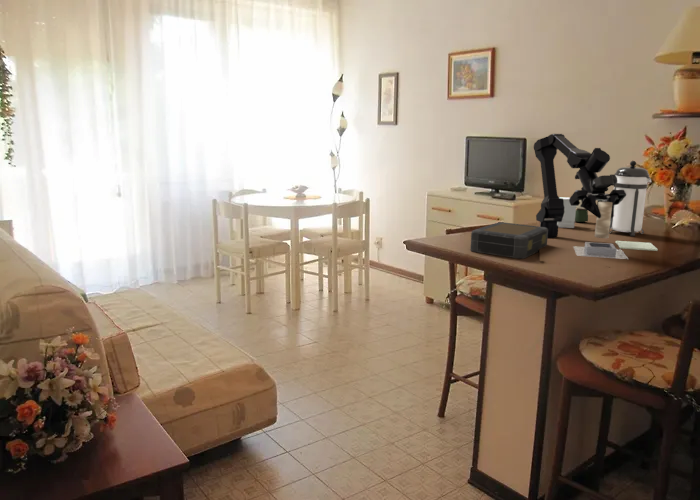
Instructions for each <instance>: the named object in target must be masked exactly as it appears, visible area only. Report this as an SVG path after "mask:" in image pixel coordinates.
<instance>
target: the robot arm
mask: <svg viewBox="0 0 700 500" xmlns="http://www.w3.org/2000/svg"><path fill="white" fill-rule="evenodd" d="M533 151H534V155H535V157H536V159H537V160H538V161H539V163H540V171H541V179H542V188H543V199H542V201H541V203H540V209H539V210H538V212H537V213H536V215H535V218H536V221H537V222H540V223H539V227H546V228H547V229H548V238H549V239H551V238H552V239H557V236H558V235H559V227H558V225H557V222H561V221H562V218H563V215H564V212H565V211H564V209H565V208H564V200H563V199H562V198H559V197H560V196H559V195H558V189H557V188H558V187H557V182H556V181H557V179H556V171H555V162H554V160H555V158H556V155H557V152H558V151H559V152H560V153H562V154H563V156H565V157H566V163H567V164H568V165H569V167H570V169H579V170H577V171H576V174H575V175H574V179H575V180H580V182H581V186H582V187H581V188H580V189H575V191H574V192H573V193H572V194H571V196H570V197H569V198H570V199H569V202H570V204H571V206H578V205H579V204H580V201H579V200H581V201H582V204H581V205H580V206H581V207H583V208H585V209H586V210H587V211H588V212H590V213H591V214H593V215H594V216H595V217H596V218H597V217H598V218H600V217H601V214H600V211H599V209H598V206H597V201H598V200H602V201H605V202H612V211H611V218H613V217H614V205H617V204H619V203H620V202H621V201H622V200H623V199H624V197H625V196H626V193H625V191H624V190H614V189H612V190H611V192H609V193H606V192H607V191H609V187H611V186H612V185H614V184H616V183H617V177H616V176H615V173H614V174H609V175H599V176H598V173H600V172H602V170H603V169H604V168H605V166H606V165H608V163H609V162H610V161H611V160H610V159H611V156H610V154H608V152H606V151H605V150H603V149H601V147H594V149H593V150H592V152H589V151H587V150H584V149H581V148H579V147H577V146H576V145H575V144H573V143H572V142H571V141H570V140H569V139H568V138H566V136H565V135H564V134H563V133H551V134H549V135H548V136H544V137H543V138H542V137H541V138H540V139H537V140H536V142H534V144H533ZM548 238H547V239H548Z"/></svg>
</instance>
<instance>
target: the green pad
mask: <svg viewBox="0 0 700 500" xmlns="http://www.w3.org/2000/svg"><path fill="white" fill-rule="evenodd" d="M615 244H616V245H617V246H618V248H619V249H621V250H622V249H624V250H625V249H626V250H638V251H653V252H654V251H656V252H658V248H657V247H656V246H655V245H653V243H652V242H642V241H629V240H627V241H626V240H624V241H623V240H615Z"/></svg>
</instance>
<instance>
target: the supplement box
mask: <svg viewBox="0 0 700 500" xmlns="http://www.w3.org/2000/svg"><path fill="white" fill-rule="evenodd" d="M558 197H559V198H562V199H563V200H564V208H565V209H564V211H565V212H564V215H563V218H562V221H561V222H557V225H558V228H564V229H567V228H568V229H574V228H575V223H576V221H575V214H576V209H577V208H576V206H571V204H570V202H569V199H570V197H567V196H566V197H565V196H564V197H562V196H561V197H560V196H558Z"/></svg>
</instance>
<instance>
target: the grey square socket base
mask: <svg viewBox="0 0 700 500" xmlns="http://www.w3.org/2000/svg"><path fill="white" fill-rule="evenodd" d="M572 248H573V250H574V253H575V255H576V256H578V257H579V256H580V257H590V258H591V257H593V258H605V259H607V258H608V259H619V260H629V257H628V256H627V255H626V253H625V252H624V251H623V250H622V248H619V249H618V248H616V246H615V245H614V243H609V242H608V243H607V242H592V241H585V242H584V246H574V245H573V246H572Z"/></svg>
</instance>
